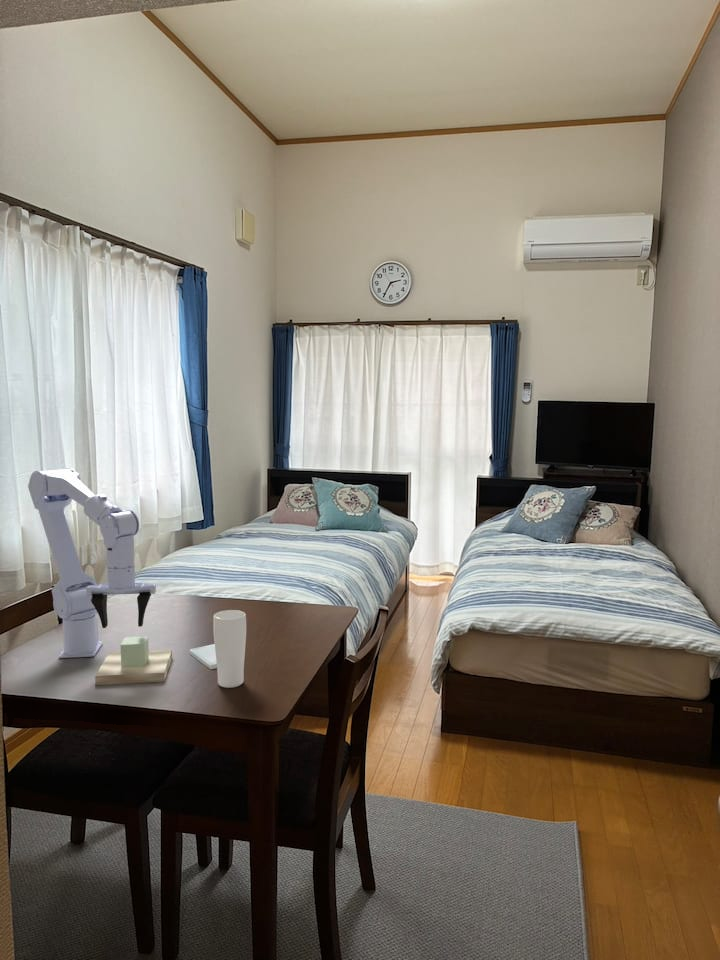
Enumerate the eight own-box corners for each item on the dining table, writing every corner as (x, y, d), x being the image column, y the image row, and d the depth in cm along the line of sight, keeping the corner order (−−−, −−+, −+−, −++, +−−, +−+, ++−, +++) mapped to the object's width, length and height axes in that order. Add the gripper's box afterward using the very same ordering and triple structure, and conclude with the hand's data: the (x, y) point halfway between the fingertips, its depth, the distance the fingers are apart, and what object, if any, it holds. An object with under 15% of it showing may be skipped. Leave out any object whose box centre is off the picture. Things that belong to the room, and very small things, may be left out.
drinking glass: (233, 692, 143) (231, 621, 141) (207, 686, 146) (206, 616, 144) (253, 681, 148) (252, 612, 147) (228, 675, 152) (227, 608, 150)
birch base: (109, 661, 160) (109, 652, 160) (172, 658, 162) (172, 649, 162) (95, 685, 146) (95, 676, 146) (164, 681, 148) (164, 672, 148)
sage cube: (125, 659, 156) (124, 637, 155) (148, 657, 156) (148, 636, 156) (121, 667, 151) (120, 644, 150) (145, 666, 151) (144, 643, 151)
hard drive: (188, 649, 165) (210, 664, 155) (220, 642, 170) (244, 656, 160) (188, 656, 165) (210, 671, 155) (220, 649, 170) (244, 663, 160)
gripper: (82, 571, 149) (84, 633, 150) (152, 569, 151) (153, 630, 153) (89, 563, 156) (92, 623, 157) (156, 562, 158) (158, 620, 160)
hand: (122, 625), depth 155 cm, fingers open, 7 cm apart
